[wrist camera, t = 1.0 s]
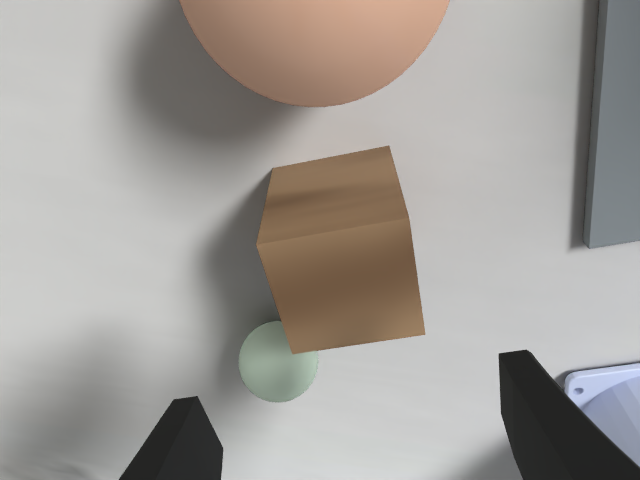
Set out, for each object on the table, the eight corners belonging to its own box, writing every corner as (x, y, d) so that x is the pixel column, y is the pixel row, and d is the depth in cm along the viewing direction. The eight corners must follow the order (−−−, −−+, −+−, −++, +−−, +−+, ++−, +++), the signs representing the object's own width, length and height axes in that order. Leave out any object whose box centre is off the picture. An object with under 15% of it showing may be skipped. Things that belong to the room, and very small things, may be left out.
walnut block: (403, 244, 21) (425, 334, 17) (299, 262, 22) (292, 354, 17) (389, 145, 19) (409, 217, 14) (272, 167, 20) (255, 244, 15)
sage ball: (325, 354, 25) (325, 414, 22) (256, 365, 25) (246, 424, 22) (309, 299, 23) (307, 355, 20) (234, 311, 23) (221, 368, 20)
